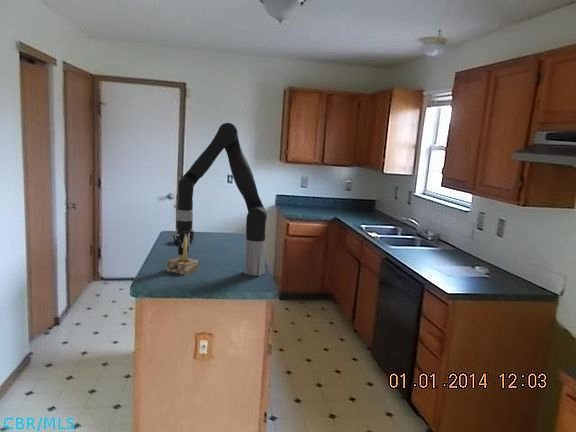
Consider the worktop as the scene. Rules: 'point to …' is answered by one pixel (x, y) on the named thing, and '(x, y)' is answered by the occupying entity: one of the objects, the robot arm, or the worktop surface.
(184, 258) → the peg
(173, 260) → the socket mount
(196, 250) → the worktop surface
